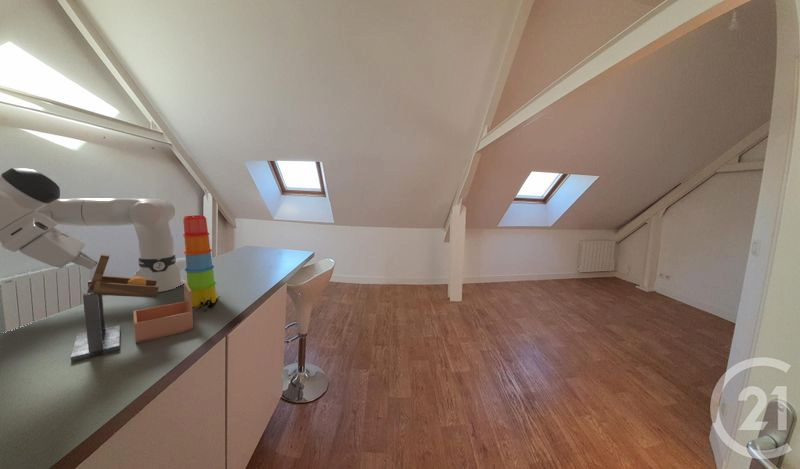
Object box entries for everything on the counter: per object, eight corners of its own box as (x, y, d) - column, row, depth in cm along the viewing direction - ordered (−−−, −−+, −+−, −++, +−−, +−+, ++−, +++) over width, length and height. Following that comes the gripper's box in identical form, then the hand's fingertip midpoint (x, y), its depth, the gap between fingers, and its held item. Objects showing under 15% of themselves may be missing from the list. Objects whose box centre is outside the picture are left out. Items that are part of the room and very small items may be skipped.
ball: (145, 273, 81) (146, 286, 82) (126, 276, 78) (128, 289, 79) (145, 277, 79) (147, 290, 79) (126, 280, 76) (128, 293, 76)
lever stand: (78, 338, 77) (71, 282, 75) (120, 329, 83) (115, 277, 81) (71, 362, 67) (63, 298, 65) (119, 350, 73) (114, 291, 71)
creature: (188, 314, 98) (205, 313, 96) (185, 300, 97) (202, 299, 95) (208, 306, 105) (224, 305, 103) (205, 293, 105) (221, 292, 103)
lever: (88, 287, 76) (101, 250, 76) (152, 291, 85) (163, 258, 86) (84, 299, 68) (99, 258, 69) (154, 301, 78) (167, 266, 79)
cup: (134, 328, 84) (131, 289, 82) (187, 317, 94) (185, 281, 92) (135, 343, 76) (132, 300, 75) (193, 329, 86) (191, 291, 84)
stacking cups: (218, 304, 105) (215, 217, 101) (185, 308, 100) (180, 216, 95) (218, 295, 114) (215, 214, 109) (187, 299, 108) (183, 214, 103)
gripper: (27, 235, 70) (87, 266, 78) (0, 248, 56) (76, 285, 64) (53, 218, 73) (108, 250, 81) (33, 227, 58) (103, 265, 66)
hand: (94, 266), depth 72 cm, fingers closed, pressing on lever
